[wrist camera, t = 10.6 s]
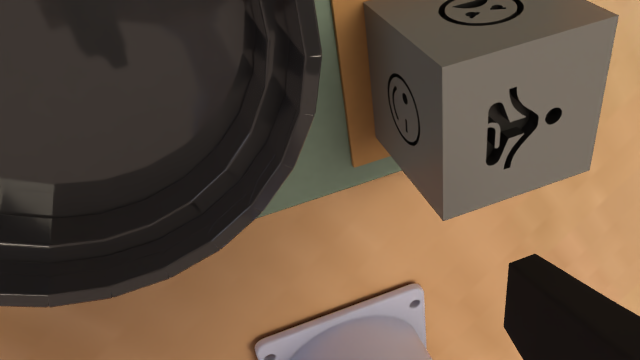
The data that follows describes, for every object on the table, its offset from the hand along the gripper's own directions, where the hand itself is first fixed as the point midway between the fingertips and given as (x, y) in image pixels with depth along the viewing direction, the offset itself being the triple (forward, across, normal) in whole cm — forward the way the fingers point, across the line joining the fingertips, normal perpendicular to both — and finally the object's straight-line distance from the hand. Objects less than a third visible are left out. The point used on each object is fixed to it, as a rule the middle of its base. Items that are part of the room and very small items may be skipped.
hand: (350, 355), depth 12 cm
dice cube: (+10, -7, 0) cm, 12 cm away
